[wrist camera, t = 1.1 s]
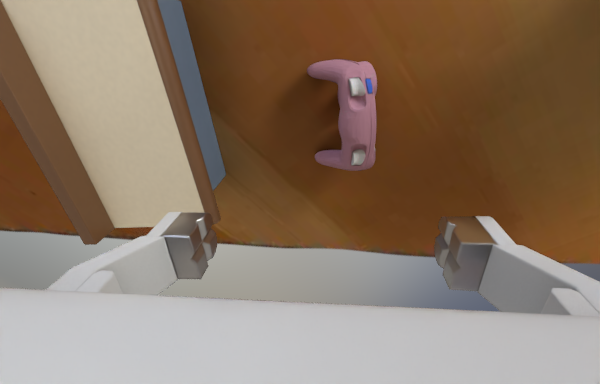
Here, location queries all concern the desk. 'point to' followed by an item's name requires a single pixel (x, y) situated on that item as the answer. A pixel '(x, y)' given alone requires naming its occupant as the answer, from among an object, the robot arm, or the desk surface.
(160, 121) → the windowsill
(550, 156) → the desk surface
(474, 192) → the desk surface
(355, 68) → the video game controller
